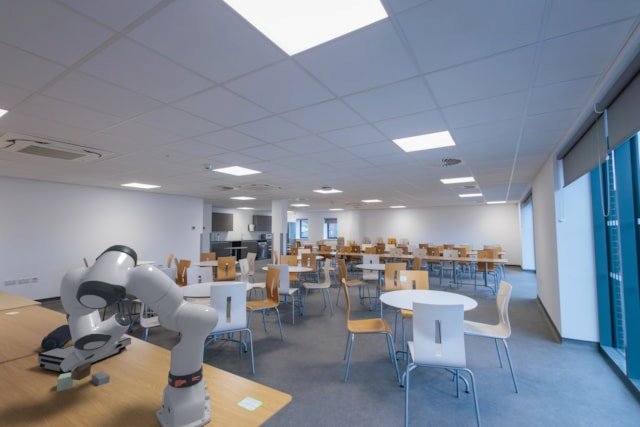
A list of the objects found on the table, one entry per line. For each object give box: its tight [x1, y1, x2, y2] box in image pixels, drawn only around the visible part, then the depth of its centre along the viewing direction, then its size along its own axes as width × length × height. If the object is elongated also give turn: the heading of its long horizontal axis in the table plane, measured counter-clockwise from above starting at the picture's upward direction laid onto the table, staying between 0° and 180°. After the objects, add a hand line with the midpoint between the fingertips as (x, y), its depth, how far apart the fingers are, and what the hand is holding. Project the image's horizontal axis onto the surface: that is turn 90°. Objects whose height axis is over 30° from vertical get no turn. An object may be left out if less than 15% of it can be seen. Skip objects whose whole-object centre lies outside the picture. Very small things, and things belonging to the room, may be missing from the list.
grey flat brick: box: [90, 370, 111, 387], centre depth 127 cm, size 8×4×3 cm, turn 57°
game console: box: [37, 336, 132, 374], centre depth 150 cm, size 21×32×8 cm, turn 163°
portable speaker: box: [40, 323, 72, 351], centre depth 168 cm, size 25×10×10 cm, turn 25°
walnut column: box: [71, 361, 92, 381], centre depth 119 cm, size 4×4×8 cm
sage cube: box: [56, 372, 76, 392], centre depth 122 cm, size 5×5×5 cm
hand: (80, 366), depth 119 cm, fingers closed on walnut column, 4 cm apart
